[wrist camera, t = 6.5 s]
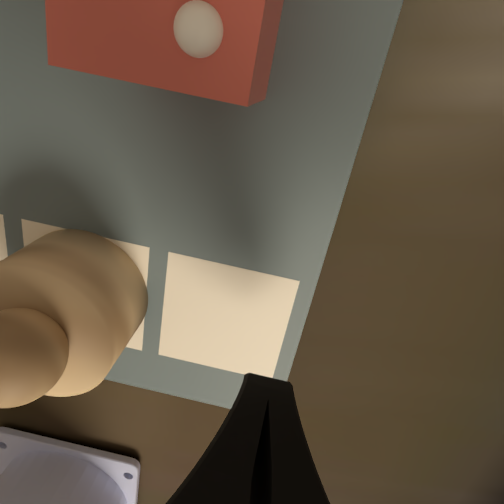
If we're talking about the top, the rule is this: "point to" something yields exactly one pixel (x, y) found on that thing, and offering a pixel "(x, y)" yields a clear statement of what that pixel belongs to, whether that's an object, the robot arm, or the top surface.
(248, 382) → the robot arm
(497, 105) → the top surface
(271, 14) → the die
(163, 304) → the board
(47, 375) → the pawn
